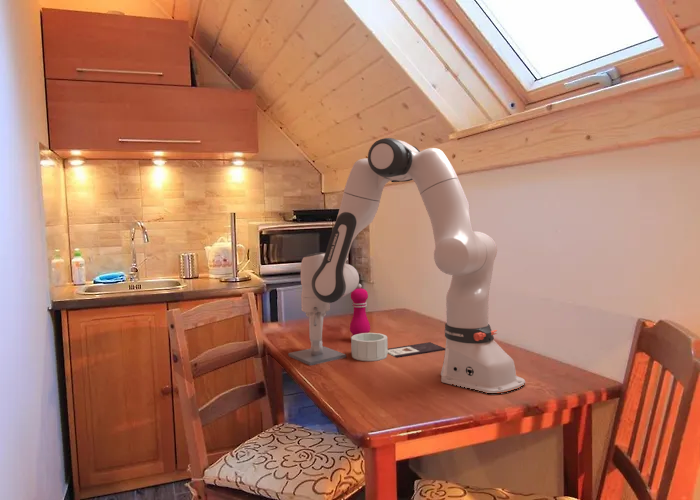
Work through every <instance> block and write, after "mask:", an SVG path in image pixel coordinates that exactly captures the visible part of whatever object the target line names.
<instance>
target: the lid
mask: <svg viewBox="0 0 700 500" xmlns="http://www.w3.org/2000/svg"><path fill="white" fill-rule="evenodd" d="M288 357H290V358H291V359H294V360H296V361H298V362H301V363H303V364H305V365H308V366H310V367H311V366H315V365H320V364H323V363H327V362H332V361H337V360H341V359H345V358H347V354H346V353H343V352H341V351H338V350H336V349H332V348H329V347H327V346H325V345H324V346H323V339H322V340H321V341H320V350H319V351H314V345H313V341H310V348H307V349H302V350H298V351H293V352H288Z"/></svg>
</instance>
